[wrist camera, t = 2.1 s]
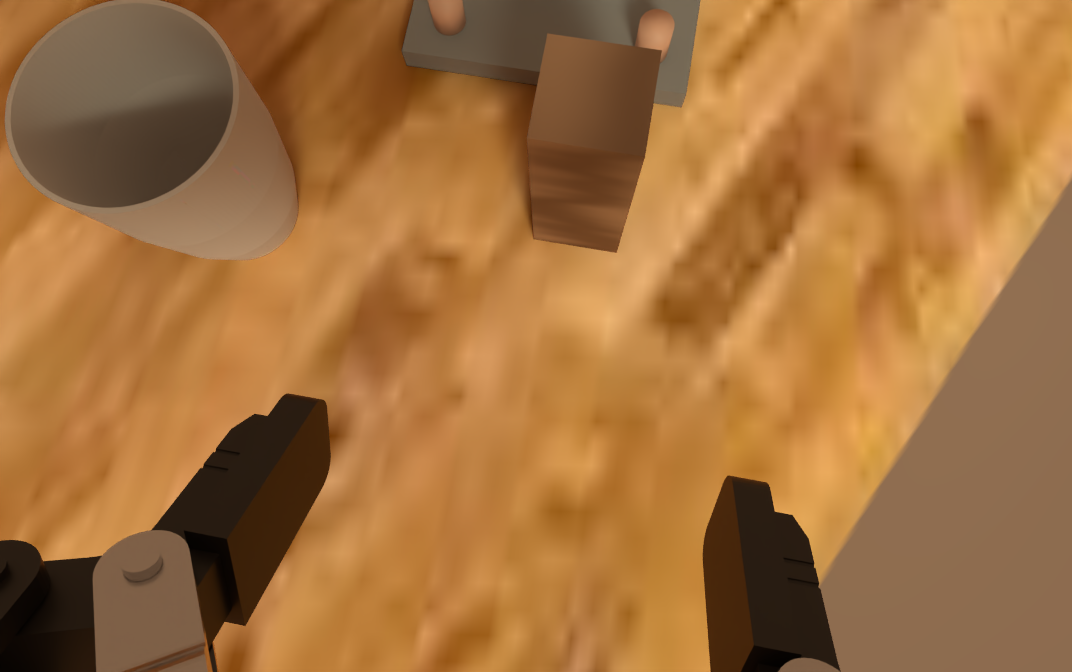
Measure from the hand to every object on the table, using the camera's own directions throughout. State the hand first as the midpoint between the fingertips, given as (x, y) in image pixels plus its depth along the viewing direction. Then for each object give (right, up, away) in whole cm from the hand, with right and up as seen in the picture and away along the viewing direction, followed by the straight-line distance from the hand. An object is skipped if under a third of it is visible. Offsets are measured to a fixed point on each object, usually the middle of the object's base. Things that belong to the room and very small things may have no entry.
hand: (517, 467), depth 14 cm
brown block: (+3, +9, +19) cm, 22 cm away
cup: (-14, +9, +20) cm, 26 cm away
